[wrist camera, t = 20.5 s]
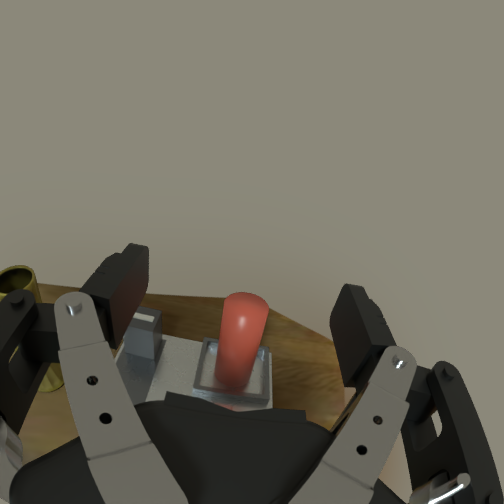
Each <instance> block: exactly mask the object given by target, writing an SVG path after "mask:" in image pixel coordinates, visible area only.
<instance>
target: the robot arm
mask: <svg viewBox="0 0 504 504" xmlns="http://www.w3.org/2000/svg"><path fill="white" fill-rule="evenodd" d="M148 272H149V249H148V247H147V246H143V245H138V244H133V243H130V244H129V245H128V246H127V247H126V248H125V249H124V251H123V252H122V253H114V254H113V255H111V256H109V257H107V258H106V259H105V260H104V261H103V262H102V263H101V265H100V267H98V268H97V269H96V271H95V273H93V274H92V275H91V277H90V278H89V279H88V280H87V282H86V283H85V284H84V285H83V286H82V288H81V289H80V290H79V292H70V293H66V294H64V295H62V296H61V297H59V298H58V299H57V301H56V302H55V304H50V303H36V300H35V297H34V294H33V293H32V292H31V291H29V290H26V289H18V290H14V291H12V292H10V293H8V294H7V295H6V296H5V297H4V298H3V299H2V300H1V301H0V498H1V499H3V500H5V501H6V502H8V503H10V504H406V503H405V502H404V501H403V500H402V499H400V498H399V497H398V496H397V495H396V494H395V493H394V492H393V491H392V490H391V489H389V488H388V487H387V486H386V485H385V484H384V483H383V482H382V481H381V480H380V479H379V478H378V477H379V475H380V473H381V471H382V469H383V467H384V465H385V463H386V460H387V458H388V456H389V454H390V452H391V450H392V448H393V445H394V443H395V441H396V439H397V436H398V434H399V431H400V430H401V434H402V439H403V443H404V448H405V453H406V457H407V463H408V468H409V473H410V479H411V485H412V490H413V493H412V494H411V496H410V500H409V503H408V504H503V502H504V498H503V493H502V489H501V485H500V481H499V477H498V474H497V470H496V467H495V463H494V460H493V457H492V453H491V450H490V447H489V445H488V442H487V439H486V436H485V433H484V430H483V428H482V425H481V422H480V419H479V417H478V414H477V412H476V409H475V407H474V404H473V402H472V400H471V397H470V395H469V393H468V390H467V388H466V386H465V384H464V381H463V379H462V377H461V375H460V373H459V371H458V370H457V369H456V368H455V367H454V366H453V365H452V364H450V363H448V362H445V361H439V362H437V363H436V364H435V365H434V367H433V368H432V369H431V370H430V369H427V368H424V367H421V366H417V363H416V360H415V358H414V357H413V355H412V354H411V353H410V352H409V351H407V350H406V349H404V348H402V347H399V346H397V345H396V343H395V341H394V338H393V336H392V334H391V332H390V329H389V327H388V325H386V321H385V319H384V318H383V314H382V312H381V310H380V308H379V307H378V306H377V305H376V304H375V303H374V302H373V301H372V300H371V299H369V298H368V296H367V294H366V292H365V290H364V288H363V287H362V286H358V285H351V284H345V285H344V286H343V287H342V289H341V292H340V294H339V296H338V299H337V301H336V303H335V306H334V308H333V310H332V312H331V316H330V329H331V333H332V337H333V341H334V345H335V349H336V353H337V358H338V362H339V366H340V370H341V374H342V379H343V383H344V387H355V388H356V392H355V394H354V395H353V396H352V398H351V399H350V401H349V403H348V404H347V406H346V407H345V409H344V410H343V412H342V413H341V415H340V416H339V418H338V419H337V421H336V422H335V424H334V425H333V427H332V428H331V429H330V431H328V430H327V429H325V428H324V427H322V426H320V425H318V424H316V423H313V422H311V421H307V420H306V413H305V410H289V409H277V408H269V409H261V410H251V411H239V412H238V411H233V410H230V409H227V408H225V407H222V406H219V405H217V404H214V403H212V402H209V401H207V400H204V399H202V398H198V397H193V396H188V395H183V394H178V393H174V392H169V391H166V395H165V399H164V400H155V401H147V402H142V403H139V404H136V405H133V403H132V401H131V399H130V397H129V395H128V392H127V390H126V388H125V385H124V383H123V380H122V378H121V376H120V373H119V371H118V368H117V366H116V363H115V360H114V358H113V355H112V352H111V350H110V348H112V349H116V350H117V348H118V346H119V344H120V342H121V340H122V338H123V336H124V334H125V332H126V330H127V328H128V326H129V324H130V322H131V320H132V318H133V316H134V314H135V312H136V311H137V309H138V307H139V305H140V303H141V301H142V299H143V297H144V295H145V293H146V291H147V287H148V280H149V275H148V274H149V273H148ZM17 346H18V349H17V351H16V353H15V354H14V356H13V358H12V359H11V361H10V363H9V360H10V357H11V356H12V354H13V352H14V351H15V349H16V348H17ZM51 363H60V365H61V370H62V375H63V379H64V383H65V388H66V392H67V396H68V400H69V403H70V407H71V410H72V414H73V417H74V421H75V424H76V427H77V430H78V433H79V436H78V437H77V438H75V439H73V440H71V441H69V442H68V443H66V444H64V445H62V446H60V447H58V448H56V449H55V450H53V451H51V452H49V453H47V454H45V455H43V456H41V457H39V458H37V459H35V460H33V461H31V462H29V463H27V464H25V465H24V466H23V467H22V463H21V462H22V460H23V456H22V452H23V448H22V443H21V440H20V438H19V437H18V434H19V432H20V429H21V427H22V424H23V422H24V420H25V417H26V415H27V413H28V410H29V408H30V406H31V404H32V401H33V399H34V397H35V395H36V393H37V391H38V389H39V386H40V384H41V382H42V380H43V378H44V376H45V374H46V372H47V370H48V368H49V366H50V364H51ZM436 410H438V413H439V416H440V419H441V423H442V431H441V434H440V435H439V437H437V434H436V430H435V427H434V424H433V420H432V417H431V415H432V414H433V413H435V411H436Z"/></svg>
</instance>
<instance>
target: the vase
mask: <svg viewBox="0 0 504 504" xmlns="http://www.w3.org/2000/svg"><path fill="white" fill-rule="evenodd" d="M18 289H26V290H29V291H31V292H32V293H33V294H34V297H35V300H36V303H42V300H41V296H40V292H39V289H38V285H37V281H36V277H35V274H34V271H33V270H32V269H31V268H29V267H27V266H24V265H18V266H12V267H9V268H6V269H5V270H2V271H1V272H0V301H1V300H2V299H3V298H4V297H5V296H6V295H7V294H8V293H10V292H12V291H14V290H18ZM17 349H18V346H17V348H16V349H15V352H16V351H17ZM63 384H64V379H63V375H62V370H61V365H60V363H51V364H50V366H49V368H48V370H47V372H46V374H45V376H44V378H43V380H42V382H41V384H40V386H39V389H38V391H41V392H51V391H54V390H56V389H58V388H60V387H61V386H62V385H63Z"/></svg>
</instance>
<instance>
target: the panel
mask: <svg viewBox="0 0 504 504" xmlns="http://www.w3.org/2000/svg"><path fill="white" fill-rule="evenodd" d="M218 342H219V339H213V338H208V337H204V340H203V342H198V341H193V340H188V339H183V338H178V337H173V336H168V335H164V334H162V341H161V344H160V346H159V349H158V352H157V354H156V357H155V360H153V359H149V358H145V357H141V356H137V355H133V354H129V353H126V352H125V346H124V341H123V343H122V345H121V347H120V349H119V351H118V353H117V356H116V358H115V363H116V366H117V368H118V371H119V373H120V376H121V378H122V380H123V383H124V385H125V388H126V390H127V392H128V395H129V397H130V399H131V401H132V403H133V405H136V404H139V403H142V402H147V401H155V400H164V399H165V395H166V391H169V392H174V393H178V394H183V395H188V396H193V397H198V398H202V399H204V400H207V401H209V402H212V403H214V404H217V405H219V406H222V407H225V408H227V409H230V410H233V411H238V412H239V411H251V410H261V409H269V408H273V407H272V359H271V353H269V347H265V346H259V349H258V352H257V356H256V359H255V363H254V367H253V370H252V374H251V377H250V380H249V381H248V382H247V383H246V384H245V385H243V386H239V387H230V386H226V385H224V384H222V383H221V382H219V381H218V379H217V378H216V376H215V373H214V370H215V363H216V356H217V349H218Z"/></svg>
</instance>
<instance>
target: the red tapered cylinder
mask: <svg viewBox="0 0 504 504" xmlns="http://www.w3.org/2000/svg"><path fill="white" fill-rule="evenodd" d="M268 312H269V306H268V304H267V303H266V302H265V300H263V299H262V298H261V297H259V296H257V295H254V294H251V293H245V292H239V293H233V294H231V295H229V296H228V297H227V298H226V299H225V301H224V308H223V315H222V321H221V328H220V335H219V342H218V349H217V356H216V363H215V370H214V373H215V376H216V378H217V379H218V381H219V382H221V383H222V384H224V385H226V386H230V387H239V386H243V385H245V384H246V383H247V382H248V381H249V380H250V377H251V374H252V370H253V367H254V363H255V359H256V356H257V352H258V349H259V345H260V341H261V338H262V334H263V330H264V327H265V323H266V319H267V315H268Z"/></svg>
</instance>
